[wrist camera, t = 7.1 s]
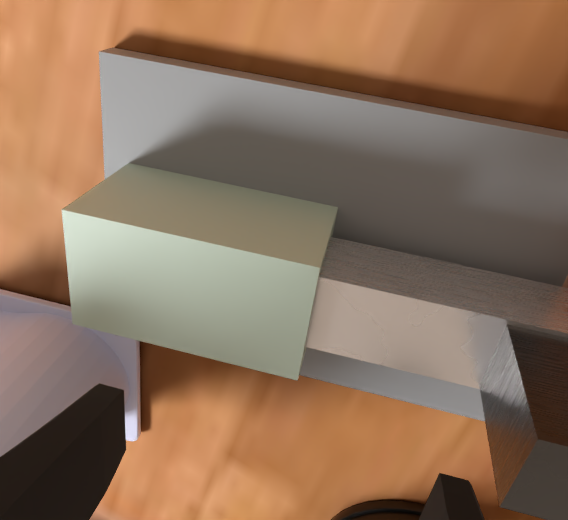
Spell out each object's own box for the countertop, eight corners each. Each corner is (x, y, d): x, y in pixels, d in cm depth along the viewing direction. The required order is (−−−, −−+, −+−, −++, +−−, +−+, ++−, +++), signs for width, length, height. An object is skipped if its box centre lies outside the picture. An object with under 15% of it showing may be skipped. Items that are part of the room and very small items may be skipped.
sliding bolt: (252, 285, 20) (181, 426, 14) (259, 221, 19) (186, 345, 12) (616, 370, 19) (718, 569, 12) (655, 307, 17) (793, 497, 11)
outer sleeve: (130, 262, 22) (72, 324, 18) (128, 162, 20) (61, 209, 16) (317, 306, 21) (297, 380, 17) (337, 207, 19) (320, 267, 15)
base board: (122, 315, 25) (111, 328, 24) (113, 47, 19) (99, 51, 18) (604, 434, 22) (612, 453, 21) (777, 170, 16) (798, 182, 15)
